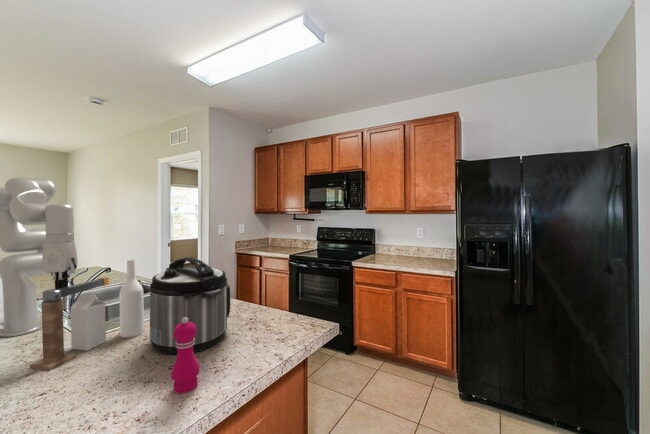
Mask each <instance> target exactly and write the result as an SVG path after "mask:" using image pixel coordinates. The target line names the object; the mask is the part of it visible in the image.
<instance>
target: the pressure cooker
mask: <svg viewBox="0 0 650 434" xmlns="http://www.w3.org/2000/svg"><path fill="white" fill-rule="evenodd" d="M186 262H188V263H190V264H192V265H193V266H194V267H190V266H188V267H186V266H185V264H186ZM184 266H185V267H184ZM230 313H231V287H230V285H229V284H228V278H227V275H226V271H224V270H222V269H220V268H212V267H210V266H209V265H208V263H205V262H204V261H202V260H200V259H198V258H194V257H182V258H178V259H176V260H174V261H172V262H171V263H170V264H168V267H167V268H166V269H165V271H164V272H160V273H158V274H155V275H154V276H152V279H151V283H150V285H149V341H150V343H151V345H152V347H153V348H154V349H155V350H156V351H158V352H161V353H163V354H173V355H174V354H176V355H177V352H178V351H177V348H176V346H175V345H176V343H175V342H176V339H175V338H174V336H173V332H174V329H175V327H176V326H177V325H178V324H180V323H182V319H183V318H184V317H187V318H188V322H192V323H193V324H195V326H196V329H197V332H196V335H195V336H194V338H195V344H194V345H193V352H197V351H202V350H204V349H208V348H209V347H212V346H213V345H216V344H217V343H218V342H220V341H221V340H222V338H224V337H225V335H226V334H227V333H226V332H227V330H228V318H229V317H230Z"/></svg>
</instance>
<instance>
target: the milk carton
mask: <svg viewBox="0 0 650 434" xmlns="http://www.w3.org/2000/svg"><path fill="white" fill-rule="evenodd" d="M106 331H107V330H106V303H105V302H104V301H102V300H101V299H99V298H98V297H97V295H96V294H85V293H80V294H79V298H78V299H76V301H75V302H74V303H73V304H72V306H70V336H71V337H70V340H71V349H72V350H77V351H78V350H79V351H86V352H87V351H89V350H92V349H93V348H96V347H98V346H100V345H102V344H104V343H106V342H107V334H106Z"/></svg>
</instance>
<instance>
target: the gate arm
mask: <svg viewBox="0 0 650 434" xmlns="http://www.w3.org/2000/svg"><path fill="white" fill-rule="evenodd" d="M109 282H110V280H109V277H108V276H107V277H106V276H103V277H101V276H100V277H98V278H96V279H93V280H92V279H91V280H89V281H86V282H81V283H80V282H79V283H78V284H77V283H76V284H73V285H68V287H65V288H61V289H55V288H53V289H47V290H44V291H42V302H52V301H57V300H60V299H62V298H65V297H68V296H71V295H75V294H79V293H82V292H85V291H89V290H92V289H95V288H99V287H105V286H108V285H109V284H110V283H109Z"/></svg>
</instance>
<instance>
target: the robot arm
mask: <svg viewBox="0 0 650 434" xmlns="http://www.w3.org/2000/svg"><path fill="white" fill-rule="evenodd" d="M55 195H56V186H55V184H54V183H53V182H52V181H51V180H49V179H46V178H40V177H39V178H37V177H23V176H22V177H20V176H19V177H12V178H10V179H8V180H6V181H5V183H4V187H2V186H1V187H0V250H1V251H2V252H3V253H8V254H11V255H7V256H5V257H3V258H2V259H1V260H0V279H1V282H2V295H3V296H2V297H3V299H2V300H3V321H1V322H0V326H3V329H1V330H0V337H2V338H9V337H17V336H21V335H27V334H30V333H33V332H36V331H38V330H40V329H42V321H38V300H37V299H38V297H37V296H38V295H37V286H36V284H35V283H34V282H33V281H32V280H31V279H29V277H33V276H41V275H47V274H49V275H51V276H52V279H53V280H54V289H61V288H65V287H69V279H70V277H71V275H74V274H76V269H78V253H77V252H78V251H77V247H76V243H75V227H74V226H75V224H74V223H75V222H74V221H75V219H74V217H75V216H74V207H73V206H72V205H71V204H64V203H63V204H61V203H48V202H50V201H51V200H52V199H53V198H54V196H55ZM37 225H38V226H39V225H44V227H45V229H44V228H31V229H29V228H27V227H26V226H37ZM25 252H26V253H25ZM27 252H28V253H27ZM15 253H19V254H15Z"/></svg>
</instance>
